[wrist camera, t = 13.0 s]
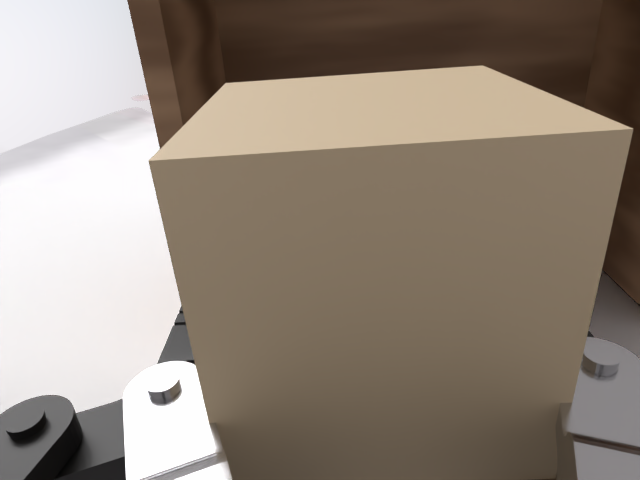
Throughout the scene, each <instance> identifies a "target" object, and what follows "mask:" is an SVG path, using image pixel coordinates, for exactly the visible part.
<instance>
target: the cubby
mask: <svg viewBox="0 0 640 480" xmlns="http://www.w3.org/2000/svg"><path fill="white" fill-rule="evenodd" d="M127 1H128V5H129V9H130V14H131V19H132V23H133V28H134V32H135V37H136V41H137V46H138V50H139V55H140V59H141V64H142V68H143V73H144V78H145V82H146V87H147V91H148V96H149V100H150V105H151V109H152V114H153V118H154V123H155V128H156V132H157V137H158V141H159V146H160V149H161V148H162V147H163V146H164V145H165V144H166V143H167V142H168V141H169V140H170V139H171V138H172V137H173V136H174V135H175V134H176V133H177V132H178V131H179V130H180V129H181V128H182V127H183V126H184V125H185V124H186V123H187V122H188V121H189V120H190V119H191V118H192V117H193V116H194V115H195V114H196V112H197V111H198V110H199V109H200V108H201V107H202V106H203V105H204V104H205V103H206V102H207V101H208V100H209V99H210V98H211V97H212V96H213V95H214V94H215V93H216V92H217V91H218V90H219V89H220V88H221V87H222V86H223V85H224V84H225V83H234V82H248V81H263V80H278V79H292V78H307V77H321V76H336V75H350V74H365V73H379V72H394V71H408V70H423V69H438V68H452V67H467V66H481V65H483V66H485V67H488V68H490V69H493V70H495V71H497V72H500V73H502V74H504V75H507V76H509V77H512V78H514V79H516V80H519V81H521V82H523V83H526V84H528V85H531V86H533V87H535V88H538V89H540V90H542V91H545V92H547V93H550V94H552V95H554V96H557V97H559V98H561V99H564V100H566V101H569V102H571V103H573V104H576V105H578V106H580V107H583V108H585V109H588V110H590V111H592V112H595V113H597V114H600V115H602V116H604V117H607V118H609V119H611V120H614V121H616V122H619V123H621V124H623V125H626V126H628V127H630V128H633V133H632V138H631V142H630V147H629V151H628V156H627V160H626V165H625V169H624V174H623V178H622V182H621V187H620V191H619V196H618V200H617V205H616V209H615V214H614V218H613V223H612V227H611V232H610V236H609V241H608V245H607V250H606V254H605V259H604V263H603V268H602V270H603V271H604V272H605V273H606V274H608V275H609V276H610V277H611V278H612V279H613V280H614V281H615V282H616V283H617V284H618V285H619V286H620V287H621V288H622V289H623V290H624V291H625V292H626V293H627V294H628V295H629V296H630V297H631V298H632V299H633V300H634V301H635V302H636V303H637V304H639V305H640V0H127Z"/></svg>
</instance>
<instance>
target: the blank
mask: <svg viewBox="0 0 640 480" xmlns="http://www.w3.org/2000/svg"><path fill="white" fill-rule="evenodd" d="M632 133H633V128H630V127H628V126H626V125H623V124H621V123H619V122H616V121H614V120H611V119H609V118H607V117H604V116H602V115H600V114H597V113H595V112H592V111H590V110H588V109H585V108H583V107H580V106H578V105H576V104H573V103H571V102H569V101H566V100H564V99H561V98H559V97H557V96H554V95H552V94H550V93H547V92H545V91H542V90H540V89H538V88H535V87H533V86H531V85H528V84H526V83H523V82H521V81H519V80H516V79H514V78H512V77H509V76H507V75H504V74H502V73H500V72H497V71H495V70H493V69H490V68H488V67H485V66H483V65H481V66H467V67H452V68H438V69H423V70H408V71H394V72H379V73H365V74H350V75H336V76H321V77H307V78H292V79H278V80H263V81H248V82H234V83H225V84H224V85H223V86H222V87H221V88H220V89H219V90H218V91H217V92H216V93H215V94H214V95H213V96H212V97H211V98H210V99H209V100H208V101H207V102H206V103H205V104H204V105H203V106H202V107H201V108H200V109H199V110H198V111H197V112H196V114H195V115H194V116H193V117H192V118H191V119H190V120H189V121H188V122H187V123H186V124H185V125H184V126H183V127H182V128H181V129H180V130H179V131H178V132H177V133H176V134H175V135H174V136H173V137H172V138H171V139H170V140H169V141H168V142H167V143H166V144H165V145H164V146H163V147H162V148H161V149H160V150H159V151H158V152H157V153H156V154H155V155H154V156H153V157H152V158H151V159H150V160H149V164H150V169H151V173H152V178H153V182H154V186H155V191H156V195H157V199H158V204H159V208H160V213H161V217H162V221H163V226H164V230H165V234H166V239H167V243H168V248H169V252H170V256H171V261H172V265H173V269H174V274H175V278H176V283H177V287H178V291H179V296H180V300H181V304H182V309H183V313H184V318H185V322H186V326H187V331H188V335H189V339H190V344H191V348H192V353H193V357H194V361H195V366H196V370H197V374H198V379H199V383H200V388H201V392H202V396H203V401H204V405H205V409H206V414H207V418H208V423H216V425H217V429H218V433H219V436H220V440H221V444H222V448H223V451H224V452H225V455H226V458H227V462H228V465H229V469H230V473H231V477H232V480H556V478H557V443H556V429H555V426H556V421H557V417H558V412H559V407H560V403H572V402H573V397H574V393H575V388H576V384H577V379H578V375H579V371H580V366H581V362H582V357H583V353H584V348H585V344H586V339H587V335H588V330H589V326H590V321H591V317H592V312H593V308H594V303H595V299H596V294H597V290H598V285H599V281H600V277H601V272H602V268H603V263H604V259H605V254H606V250H607V245H608V241H609V236H610V232H611V227H612V223H613V218H614V214H615V209H616V205H617V200H618V196H619V191H620V187H621V182H622V178H623V174H624V169H625V165H626V160H627V156H628V151H629V147H630V142H631V138H632Z"/></svg>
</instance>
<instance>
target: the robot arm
mask: <svg viewBox="0 0 640 480" xmlns="http://www.w3.org/2000/svg"><path fill="white" fill-rule="evenodd" d="M179 312H180V313H179V314H178V315H177V318H176V320H175V326H173V327H172V330H171V332H170V335H169V337H168V339H167V342H166V344H165V347H164V349H163V351H162V354H161V356H160V358H159V361H158V363H157V365H155V366H152V367H150V368H148V369H146V370H144V371H143V372H141V373H140V374H138V375H137V376H136V377H135V378H134V379H133V380H132V381H131V382H130V383H129V384H128V386H127V387H126V389H125V392H124V395H123V399H120V400H118V401H115V402H112V403H110V404H106V405H103V406H99V407H96V408H93V409H89V410H86V411H82V412H79V413H75V410H74V408H73V405H72V403H71V402H70V401H69V400H68V399H67V398H64V397H62V396H57V395H45V396H39V397H35V398H31V399H28V400H25V401H23V402H21V403H18V404H16V405H14V406H13V407H11V408H9V409H8V410H6V411H5V412H3V413H2V414H0V480H232V477H231V473H230V469H229V465H228V462H227V458H226V455H225V452H224V451H223V448H222V444H221V440H220V436H219V433H218V429H217V425H216V423H208V418H207V414H206V409H205V405H204V401H203V396H202V392H201V388H200V383H199V379H198V374H197V370H196V366H195V361H194V357H193V353H192V348H191V344H190V339H189V335H188V331H187V326H186V322H185V318H184V313H183V309H182V306H181V308H180V311H179ZM555 429H556V443H557V478H556V480H640V359H639V358H638V357H637V356H636V355H635V354H634V353H632V352H631V351H630V350H628V349H626V348H625V347H623V346H621V345H618V344H616V343H614V342H611V341H608V340H604V339H600V338H595V337H593V335H592V334H591V333H590V332H589V330H588V335H587V339H586V344H585V348H584V353H583V357H582V362H581V366H580V371H579V375H578V379H577V384H576V388H575V393H574V397H573V402H572V403H560V407H559V412H558V417H557V421H556V426H555Z"/></svg>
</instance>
